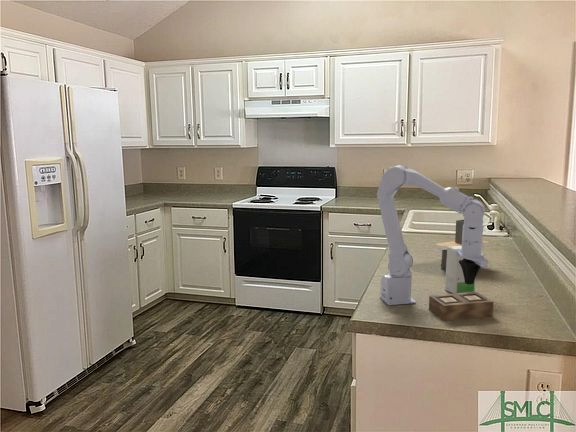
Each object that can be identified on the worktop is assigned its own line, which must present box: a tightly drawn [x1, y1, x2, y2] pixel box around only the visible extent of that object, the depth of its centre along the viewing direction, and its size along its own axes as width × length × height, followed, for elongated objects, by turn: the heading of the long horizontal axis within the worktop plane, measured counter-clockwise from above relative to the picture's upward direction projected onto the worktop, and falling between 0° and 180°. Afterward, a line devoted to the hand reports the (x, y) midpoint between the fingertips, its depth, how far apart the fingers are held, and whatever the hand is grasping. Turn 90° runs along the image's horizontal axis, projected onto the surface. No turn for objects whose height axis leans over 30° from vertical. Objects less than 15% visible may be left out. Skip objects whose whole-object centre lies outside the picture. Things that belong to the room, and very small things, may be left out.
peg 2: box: [464, 295, 480, 300], centre depth 147 cm, size 4×4×4 cm
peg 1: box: [440, 297, 456, 302], centre depth 145 cm, size 4×4×4 cm
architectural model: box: [435, 219, 489, 270], centre depth 192 cm, size 38×25×20 cm, turn 116°
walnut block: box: [428, 291, 494, 321], centre depth 146 cm, size 16×9×5 cm, turn 101°
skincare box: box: [444, 246, 477, 294], centre depth 164 cm, size 8×7×16 cm
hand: (469, 283), depth 147 cm, fingers closed
